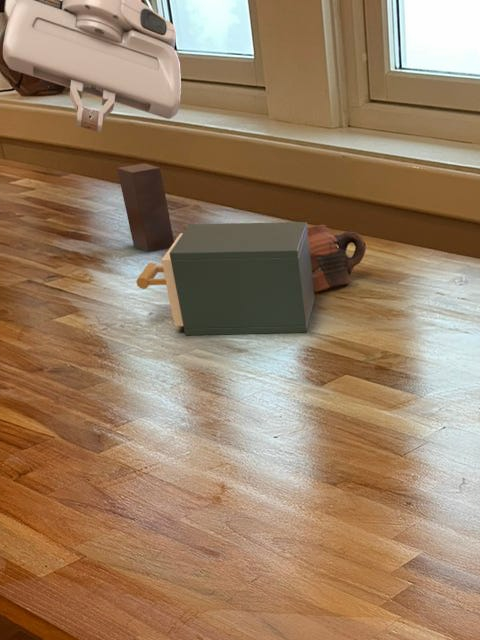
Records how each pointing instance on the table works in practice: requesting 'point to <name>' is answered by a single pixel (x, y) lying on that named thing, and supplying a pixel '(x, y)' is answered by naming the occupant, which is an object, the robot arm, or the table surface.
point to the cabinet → (244, 278)
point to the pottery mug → (332, 256)
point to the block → (146, 207)
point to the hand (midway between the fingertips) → (89, 127)
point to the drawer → (163, 282)
